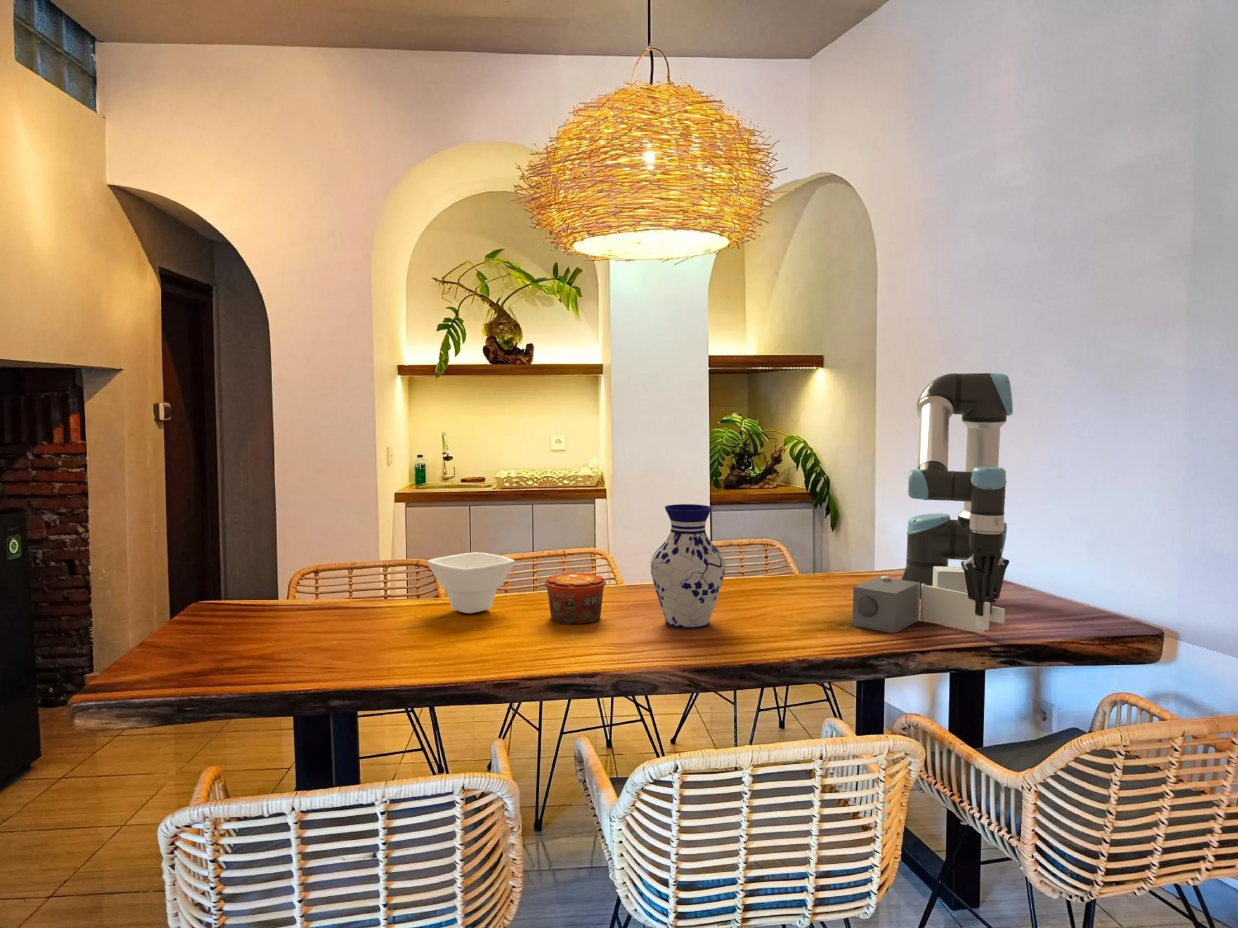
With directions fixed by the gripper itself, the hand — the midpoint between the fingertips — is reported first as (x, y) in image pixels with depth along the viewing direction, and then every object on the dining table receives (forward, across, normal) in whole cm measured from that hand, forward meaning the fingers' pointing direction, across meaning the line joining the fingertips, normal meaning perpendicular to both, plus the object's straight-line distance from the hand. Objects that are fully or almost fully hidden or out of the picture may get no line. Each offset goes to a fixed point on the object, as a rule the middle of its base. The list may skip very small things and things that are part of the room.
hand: (982, 628), depth 207 cm
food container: (+3, -86, +51) cm, 101 cm away
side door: (+2, +1, +8) cm, 8 cm away
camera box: (+3, -13, +20) cm, 24 cm away
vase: (+3, -61, +37) cm, 71 cm away
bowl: (+3, -110, +68) cm, 130 cm away
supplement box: (+3, +8, +20) cm, 22 cm away
